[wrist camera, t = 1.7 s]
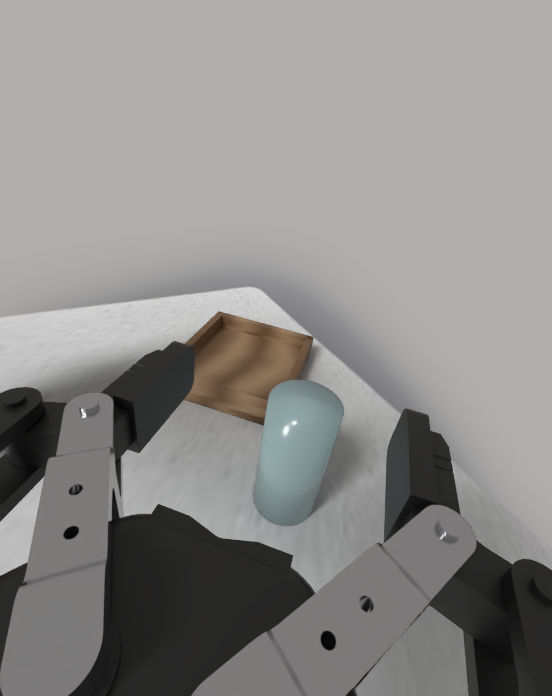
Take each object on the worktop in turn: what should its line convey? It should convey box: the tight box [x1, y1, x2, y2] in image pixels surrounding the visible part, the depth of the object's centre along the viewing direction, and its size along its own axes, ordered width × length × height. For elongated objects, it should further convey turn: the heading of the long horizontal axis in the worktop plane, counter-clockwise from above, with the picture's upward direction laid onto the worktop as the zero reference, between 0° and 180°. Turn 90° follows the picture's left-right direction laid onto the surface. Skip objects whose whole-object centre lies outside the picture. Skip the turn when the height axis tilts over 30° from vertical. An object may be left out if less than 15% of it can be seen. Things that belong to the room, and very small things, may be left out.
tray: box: [185, 312, 314, 425], centre depth 49 cm, size 16×18×3 cm
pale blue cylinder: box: [253, 380, 344, 526], centre depth 31 cm, size 6×6×12 cm
